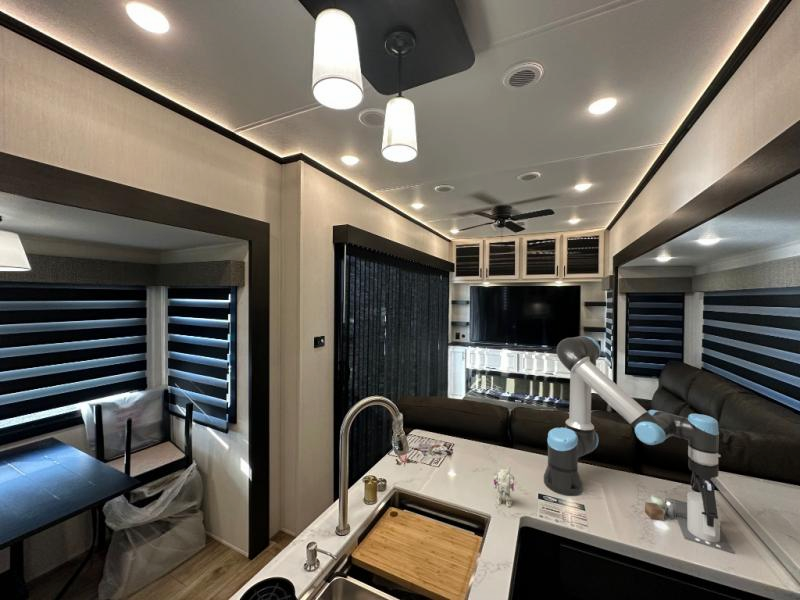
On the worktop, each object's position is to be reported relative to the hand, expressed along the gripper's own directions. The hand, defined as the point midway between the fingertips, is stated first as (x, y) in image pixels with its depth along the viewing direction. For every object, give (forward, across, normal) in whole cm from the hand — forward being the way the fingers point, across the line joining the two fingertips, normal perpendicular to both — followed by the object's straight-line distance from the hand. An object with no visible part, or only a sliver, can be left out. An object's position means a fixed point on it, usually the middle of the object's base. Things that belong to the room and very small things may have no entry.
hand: (702, 521), depth 108 cm
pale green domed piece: (+4, +10, +11) cm, 16 cm away
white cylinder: (+4, 0, 0) cm, 4 cm away
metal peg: (+4, +5, +8) cm, 11 cm away
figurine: (+5, -20, +63) cm, 66 cm away
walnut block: (+4, +2, +13) cm, 14 cm away
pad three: (+4, 0, 0) cm, 4 cm away
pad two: (+4, +13, 0) cm, 14 cm away
